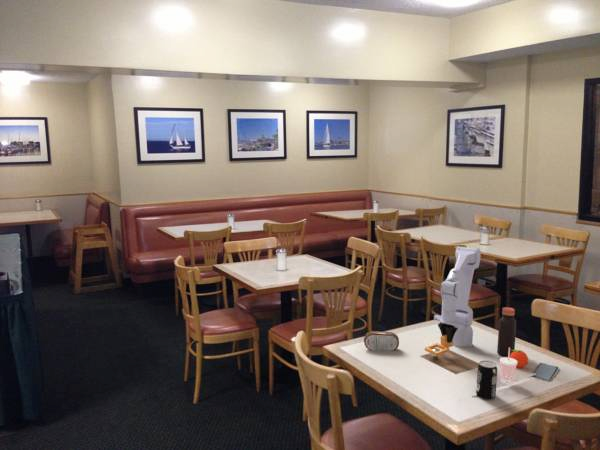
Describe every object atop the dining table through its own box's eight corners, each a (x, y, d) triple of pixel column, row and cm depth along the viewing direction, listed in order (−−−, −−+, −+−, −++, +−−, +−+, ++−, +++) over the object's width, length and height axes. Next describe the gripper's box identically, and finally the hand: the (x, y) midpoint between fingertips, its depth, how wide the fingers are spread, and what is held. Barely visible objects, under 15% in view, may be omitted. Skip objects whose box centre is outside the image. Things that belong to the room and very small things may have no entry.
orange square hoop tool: (445, 342, 223) (444, 331, 222) (457, 347, 217) (457, 336, 216) (424, 350, 217) (424, 339, 216) (436, 356, 211) (436, 344, 210)
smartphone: (529, 376, 201) (539, 362, 213) (529, 378, 201) (539, 364, 213) (550, 381, 197) (559, 367, 208) (550, 383, 197) (559, 369, 209)
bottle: (496, 355, 221) (499, 310, 218) (497, 350, 227) (500, 305, 224) (514, 358, 219) (517, 312, 216) (514, 352, 225) (517, 307, 222)
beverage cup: (514, 388, 191) (516, 352, 189) (496, 384, 194) (499, 348, 192) (517, 382, 196) (519, 346, 194) (500, 378, 200) (502, 343, 197)
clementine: (503, 366, 210) (504, 349, 209) (510, 361, 215) (511, 345, 214) (523, 372, 205) (525, 355, 204) (530, 367, 210) (531, 350, 209)
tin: (398, 350, 227) (399, 331, 226) (399, 353, 224) (399, 334, 222) (363, 348, 228) (364, 330, 227) (363, 351, 225) (364, 332, 224)
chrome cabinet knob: (435, 356, 218) (435, 347, 218) (441, 359, 215) (441, 350, 215) (429, 357, 217) (429, 348, 216) (435, 360, 214) (435, 351, 213)
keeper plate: (447, 350, 226) (447, 348, 226) (484, 367, 209) (484, 365, 209) (419, 357, 218) (419, 356, 218) (455, 375, 201) (455, 373, 201)
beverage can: (473, 391, 188) (474, 360, 187) (490, 391, 189) (492, 359, 187) (480, 400, 182) (482, 367, 180) (499, 400, 182) (501, 367, 181)
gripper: (429, 306, 221) (427, 337, 223) (455, 315, 208) (453, 348, 210) (441, 304, 224) (439, 334, 226) (467, 313, 212) (465, 345, 214)
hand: (447, 341), depth 218 cm, fingers closed on orange square hoop tool
